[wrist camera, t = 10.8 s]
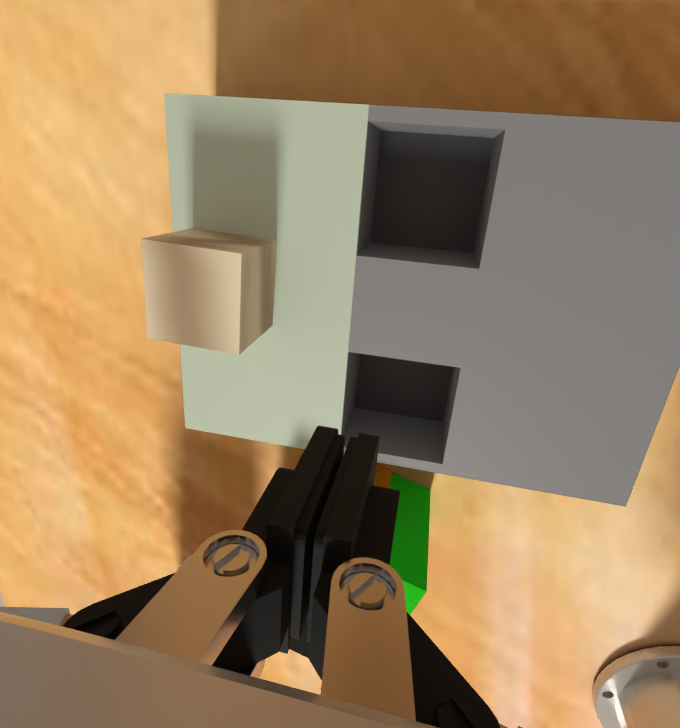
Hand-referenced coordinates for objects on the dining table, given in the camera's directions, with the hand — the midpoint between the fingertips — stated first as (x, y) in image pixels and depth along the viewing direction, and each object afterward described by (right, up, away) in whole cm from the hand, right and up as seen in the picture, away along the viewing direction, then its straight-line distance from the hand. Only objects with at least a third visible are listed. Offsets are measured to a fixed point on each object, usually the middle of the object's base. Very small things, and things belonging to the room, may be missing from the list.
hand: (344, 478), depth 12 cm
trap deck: (+5, +8, +19) cm, 21 cm away
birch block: (-6, +8, +15) cm, 18 cm away
